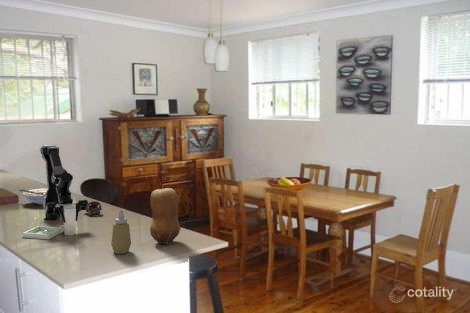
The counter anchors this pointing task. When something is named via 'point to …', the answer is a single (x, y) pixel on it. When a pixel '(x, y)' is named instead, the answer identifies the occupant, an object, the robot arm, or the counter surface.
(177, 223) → the butternut squash
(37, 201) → the ramen bowl
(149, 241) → the counter surface
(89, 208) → the pottery mug
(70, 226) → the cylinder
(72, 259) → the counter surface
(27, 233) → the tray
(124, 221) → the squeeze bottle
